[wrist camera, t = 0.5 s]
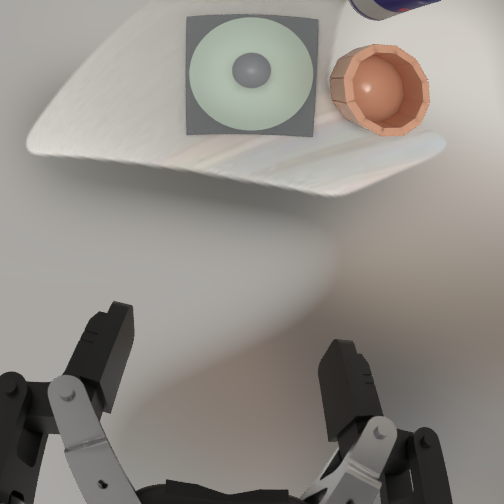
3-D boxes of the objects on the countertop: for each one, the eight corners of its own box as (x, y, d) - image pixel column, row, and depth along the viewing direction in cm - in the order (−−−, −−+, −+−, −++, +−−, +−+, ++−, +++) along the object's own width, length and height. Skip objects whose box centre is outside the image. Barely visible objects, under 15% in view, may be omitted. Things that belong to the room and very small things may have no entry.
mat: (187, 18, 23) (186, 16, 23) (317, 20, 23) (318, 19, 23) (187, 133, 30) (186, 134, 29) (311, 136, 30) (312, 137, 30)
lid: (216, 4, 22) (210, -10, 18) (329, 46, 24) (344, 39, 20) (174, 108, 28) (161, 113, 23) (284, 146, 30) (290, 158, 26)
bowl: (349, 34, 24) (365, 27, 20) (417, 76, 26) (440, 77, 22) (317, 105, 28) (329, 108, 24) (387, 141, 30) (407, 151, 26)
